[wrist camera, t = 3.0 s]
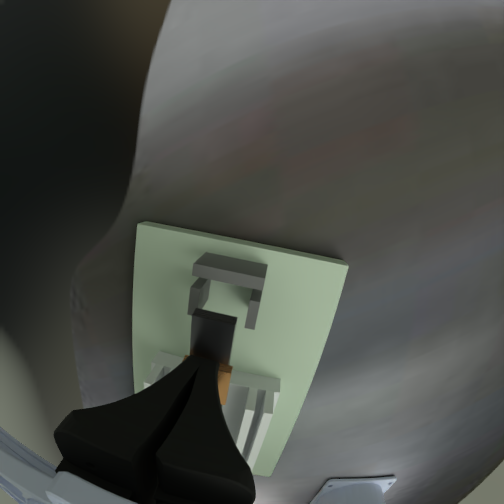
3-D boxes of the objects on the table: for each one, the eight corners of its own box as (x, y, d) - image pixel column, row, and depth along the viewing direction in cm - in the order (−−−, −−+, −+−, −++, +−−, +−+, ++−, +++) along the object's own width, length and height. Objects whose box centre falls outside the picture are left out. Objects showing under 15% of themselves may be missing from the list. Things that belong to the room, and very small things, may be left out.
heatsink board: (270, 467, 21) (267, 506, 17) (144, 436, 22) (126, 470, 17) (344, 260, 16) (365, 286, 12) (146, 221, 17) (105, 233, 13)
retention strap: (214, 471, 18) (211, 483, 17) (187, 464, 18) (184, 476, 17) (242, 316, 12) (238, 334, 11) (192, 304, 12) (183, 320, 11)
